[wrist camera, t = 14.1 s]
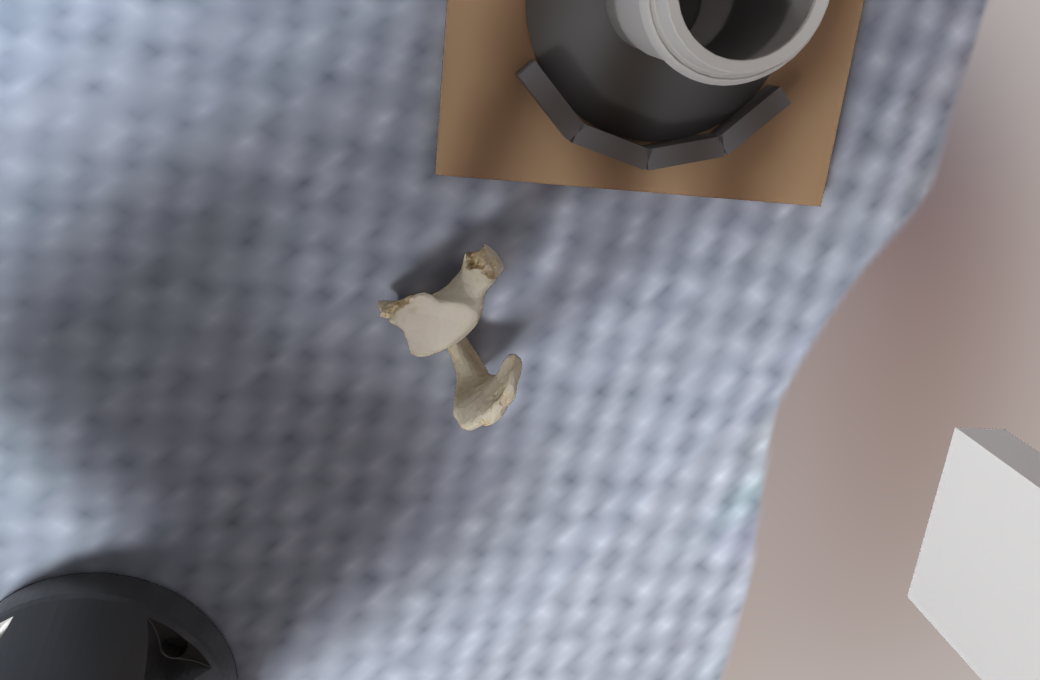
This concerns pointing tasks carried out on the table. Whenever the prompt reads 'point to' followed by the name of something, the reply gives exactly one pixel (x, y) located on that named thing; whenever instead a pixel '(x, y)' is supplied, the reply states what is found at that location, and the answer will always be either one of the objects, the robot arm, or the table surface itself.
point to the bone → (460, 338)
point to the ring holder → (631, 107)
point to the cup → (718, 34)
